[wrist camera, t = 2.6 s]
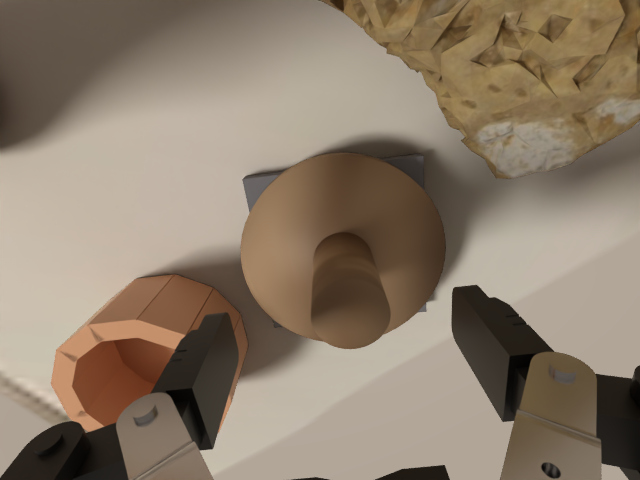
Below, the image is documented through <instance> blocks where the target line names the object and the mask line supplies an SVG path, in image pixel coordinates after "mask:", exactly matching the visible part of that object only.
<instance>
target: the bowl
mask: <svg viewBox="0 0 640 480" xmlns="http://www.w3.org/2000/svg"><path fill="white" fill-rule="evenodd" d="M224 312H227V313H228V314H229V316H230V318H231V322H232V326H233V330H234V334H235V338H236V342H237V345H238V351H239V361H238V366H237V370H236V373H235V376H234V380H233V383H232V386H231V390H230V393H229V397H228V400H227V403H226V407H225V410H224V413H223V417H222V420H221V423H220V427H219V430H218V432H219V431H220V428H221V426H222V424H223V421H224V419H225V417H226V414H227V412H228V410H229V407H230V405H231V402H232V399H233V396H234V392H235V389H236V386H237V382H238V379H239V375H240V372H241V369H242V365H243V362H244V359H245V355H246V352H247V349H248V341H247V337H246V333H245V330H244V326H243V322H242V318H241V315H240V313H239V312H238V311H237V310H236V309H235V308H234V307H233V306H232V305H231V304H230V303H229V302H228V301H227V300H226V299H225V298H224V297H223V296H222V295H221V294H220V293H219V292H218V291H217V290H216V289H215V288H214V289H213V287H210V286H207V285H205V284H202V283H199V282H196V281H193V280H190V279H187V278H185V277H182V276H179V275H176V274H175V275H174V274H172V275H163V276H155V277H146V278H138V279H135V280H134V281H132V282H131V283H130V284H129V285H128V286H126V287H125V288H124V289H123V290H121V291H120V292H119V293H118V294H116V295H115V296H114V297H113V298H111V299H110V300H109V301H108V302H107V303H106V304H105V305H104V306H103V307H101V308H100V309H99V310H98V311H97V312H96V313H95V314H94V315H93V316H92V317H91V318H90V319H89V320H88V321H86V322H85V323H84V324H83V325H82V326H81V327H80V328H79V329H78V330H77V331H76V332H75V333H74V334H73V335H71V336H70V337H69V338H68V339H67V340H66V341H65V342H64V343H63V344H62V345H61V346H60V347H59V348H58V349H57V350H56V355H55V362H54V368H53V374H52V381H51V385H52V387H53V389H54V391H55V393H56V395H57V396H58V398H59V400H60V402H61V404H62V405H63V407H64V409H65V411H66V413H67V415H68V416H69V418H70V419H71V420H73V421H74V422H78V423H80V424H81V425H82V427H83V428H84V429H85V430H87V431H88V432H90V431H93V430H96V429H99V428H102V427H105V426H107V425H110V424H113V423H116V422H117V420H118V418H119V416H120V414H121V413H122V412H123V411H124V410H125V409H126V407H128V406H129V405H130V404H131V403H133V402H134V401H135V400H137V399H139V398H141V397H143V396H145V395H148V394H150V393H151V391H152V389H153V388H154V386H155V384H156V382H157V381H158V379H159V377H160V375H161V374H162V372H163V370H164V368H165V367H166V365H167V363H168V362H169V360H170V358H171V356H172V354H173V353H174V351H175V349H176V347H177V346H178V344H179V342H180V340H181V339H182V338H184V337H185V336H186V335H187V334H188V333H189V332H190V331H191V330H198V328H199V326H200V324H201V322H202V320H203V318H204V316H205V315H207V314H215V313H224Z"/></svg>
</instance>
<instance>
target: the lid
mask: <svg viewBox="0 0 640 480" xmlns="http://www.w3.org/2000/svg"><path fill="white" fill-rule="evenodd" d="M445 249H446V246H445V234H444V229H443V225H442V221H441V219H440V216H439V214H438V211H437V209H436V207H435V206H434V204H433V202H432V200H431V199H430V198H429V196H428V195H427V194H426V192H425V191H424V190H423V189H422V188H421V187H420V186H419V185H418V184H417V183H416V182H415V181H414V180H413V179H412V178H411V177H409V176H408V175H407V174H405V173H404V172H403V171H401V170H400V169H398V168H397V167H395V166H394V165H392V164H390V163H388V162H386V161H384V160H381V159H378V158H375V157H372V156H368V155H363V154H359V153H345V152H343V153H329V154H324V155H319V156H315V157H312V158H309V159H306V160H304V161H301V162H300V163H298V164H296V165H294V166H292V167H290V168H289V169H287V170H286V171H284V172H283V173H281V174H280V175H279V176H278V177H277V178H275V179H274V180H273V181H272V182H271V183H270V184H269V185H268V186H267V188H266V189H265V190H264V191H263V192H262V194H261V195H260V197H259V198H258V200H257V202H256V203H255V205H254V206H253V208H252V210H251V211H250V214H249V216H248V218H247V221H246V223H245V227H244V230H243V234H242V241H241V263H242V269H243V273H244V277H245V280H246V283H247V285H248V287H249V289H250V291H251V293H252V295H253V297H254V298H255V300H256V301H257V303H258V304H259V305H260V306H261V308H262V309H263V310H264V311H265V312H266V313H267V314H268V315H269V316H270V317H271V318H272V319H273V320H275V321H276V322H277V323H279V324H280V325H282V326H283V327H285V328H287V329H288V330H290V331H292V332H294V333H296V334H299V335H301V336H304V337H307V338H310V339H314V340H318V341H324V342H326V343H328V344H330V345H332V346H334V347H338V348H343V349H356V348H361V347H365V346H367V345H369V344H371V343H373V342H375V341H376V340H378V339H379V338H380V337H381V336H382V335H383V334H386V333H388V332H390V331H392V330H394V329H396V328H397V327H399V326H400V325H402V324H403V323H405V322H406V321H408V320H409V319H410V318H411V317H412V316H414V315H415V314H416V313H417V312H418V311H419V310H420V309H421V308H422V307H423V306H424V304H425V303H426V302H427V300H428V299H429V298H430V296H431V295H432V293H433V291H434V289H435V288H436V286H437V284H438V281H439V279H440V276H441V273H442V270H443V265H444V261H445Z"/></svg>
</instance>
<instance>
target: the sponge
mask: <svg viewBox="0 0 640 480" xmlns="http://www.w3.org/2000/svg"><path fill="white" fill-rule="evenodd" d="M319 1H322V2H324V3H326V4H328V5H330V6H332V7H334V8H336V9H337V10H339V11H341V12H343V13H345V14H346V15H347V16H348V17H350V18H351V19H352V20H353V21H354V22H355V23H357V24H358V25H359V26H360V27H361V28H362V27H363V29H364V30H365V32H366V33H367V34H368V35H369V36H370V37H371V38H373V39H374V40H375V41H376V42H377V43H378V44H379V45H381V46H383V47H385V48H387V54H391V55H395V56H398V57H400V58H401V59H402V60H403V61H404V63H405V64H406V65H407V66H408V67H409V68H410V69H414V70H415V71H416V72H417V73H418V72H419V71H420V72H421V73H422V75H423V77H424V80H425V82H426V85H427V86H428V87H430V88H431V89H432V90H433V91H434V92H435V93H436V97H437V101H438V105H439V107H440V109H441V110H442V112H443V114H444V116H445V118H446V120H447V122H448V124H449V126H450V127H451V128H454V129H457V130H460V131H461V132H462V134H463V135H464V136H465V138H464V139H462V140H461V141H462V142H463V143H464V144H465V145H466V146H467V147H468V148H469V149H470V150H471V151H473V152H474V153H476V154H478V155H479V156H481V157H482V158H484V159H486V162H487V164H488V167H489V168H490V170H491V171H492V173H493V174H494V176H495V177H496V178H506V179H511V178H516V177H521V176H525V175H529V174H532V173H536V172H539V171H551V170H554V169H557V168H560V167H563V166H566V165H568V164H571V163H573V162H574V161H575V160H576V159H578V158H579V157H580V156H582V155H583V154H585V153H587V152H589V151H591V150H593V149H595V148H596V147H598V146H600V145H602V144H604V143H606V142H607V141H609V140H611V139H613V138H614V137H616V136H618V135H620V134H621V133H623V132H625V131H626V130H628V129H630V128H631V127H633V126H634V125H635V124H636V123H637V122H638V121H639V120H640V0H319Z"/></svg>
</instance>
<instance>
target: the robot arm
mask: <svg viewBox="0 0 640 480" xmlns="http://www.w3.org/2000/svg"><path fill="white" fill-rule="evenodd" d="M452 332H453V336H454V339H455V341H456V343H457V345H458V347H459V349H460V350H461V352H462V354H463V355H464V357H465V359H466V360H467V362H468V364H469V365H470V367H471V369H472V371H473V372H474V374H475V376H476V377H477V379H478V381H479V382H480V384H481V386H482V387H483V389H484V391H485V393H486V394H487V396H488V398H489V399H490V401H491V403H492V405H493V406H494V408H495V410H496V411H497V413H498V415H499V416H500V418H501V420H502V421H503V422H506V421H514V424H513V429H512V432H511V437H510V441H509V445H508V449H507V453H506V457H505V461H504V465H503V469H502V473H501V477H500V480H601V463H602V464H607V465H612V466H617V467H620V469H621V470H622V471H623V472H624V474H625V475H626V476H627V478H628V479H629V480H640V366H638V367H637V368H636V369H635V372H634V375H633V378H632V379H631V378H623V377H615V376H606V375H600V374H595V373H594V372H593V370H592V369H591V368H590V367H589V366H588V365H586V364H585V363H584V362H582V361H581V360H579V359H577V358H575V357H572V356H570V355H567V354H563V353H558V352H554V351H553V350H552V349H551V348H550V347H549V346H548V345H547V344H546V342H545V341H543V339H542V338H541V337H540V336H539V335H538V334H537V333H536V332H535V331H534V330H533V329H532V328H531V327H530V326H529V325H527V324H526V322H525V321H524V320H523V319H522V318H521V317H519V314H517V313H516V312H515V311H514V309H513V308H512V307H511V306H510V305H509V304H507V303H505V302H503V301H501V300H499V299H497V298H496V297H493V298H489V297H488V296H487V295H486V294H485V293H484V292H483V291H482V290H481V288H480V287H479V286H477V285H471V286H462V287H454V289H453V292H452ZM238 361H239V351H238V345H237V342H236V338H235V334H234V330H233V326H232V322H231V318H230V316H229V314H228V313H227V312H224V313H215V314H207V315H205V316H204V318H203V320H202V322H201V324H200V326H199V328H198V330H191V331H190V332H189V333H188V334H187V335H186V336H185V337H184V338H182V339H181V340H180V342H179V344H178V346H177V347H176V349H175V351H174V353H173V354H172V356H171V358H170V360H169V362H168V363H167V365H166V367H165V368H164V370H163V372H162V374H161V375H160V377H159V379H158V381H157V382H156V384H155V386H154V388H153V389H152V391H151V393H150V394H148V395H145V396H143V397H141V398H139V399H137V400H135V401H134V402H133V403H131V404H130V405H129V406H128V407H126V409H125V410H124V411H123V412H122V413H121V414H120V416H119V418H118V420H117V422H116V423H113V424H110V425H107V426H105V427H102V428H99V429H96V430H93V431H90V432H88V433H85V431H84V429H83V427H82V425H81V424H80V423H78V422H74V421H69V422H64V423H60V424H57V425H55V426H53V427H51V428H49V429H47V430H45V431H44V432H42V433H40V434H39V435H38V436H36V437H35V438H34V439H33V440H31V441H30V443H28V444H27V445H26V446H25V447H24V449H23V450H22V451H21V452H20V453H19V455H18V456H17V457H16V459H15V460H14V461H13V462H12V464H11V465H10V466H9V467H8V469H7V470H6V471H5V472H4V474H3V475H2V476H1V478H0V480H214V479H213V477H212V475H211V473H210V471H209V469H208V467H207V465H206V463H205V461H204V459H203V457H202V455H201V453H200V451H199V450H209V449H213V447H214V444H215V440H216V437H217V434H218V430H219V427H220V423H221V420H222V417H223V413H224V410H225V407H226V403H227V400H228V397H229V393H230V390H231V386H232V383H233V380H234V376H235V373H236V370H237V366H238ZM293 480H328V479H323V478H317V477H315V478H304V479H293ZM375 480H450V479H449V476H448V473H447V471H446V468H445V465H441V466H431V467H420V468H409V469H401V470H399V471H396V472H394V473H391V474H389V475H386V476H383V477H381V478H378V479H375Z"/></svg>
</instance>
